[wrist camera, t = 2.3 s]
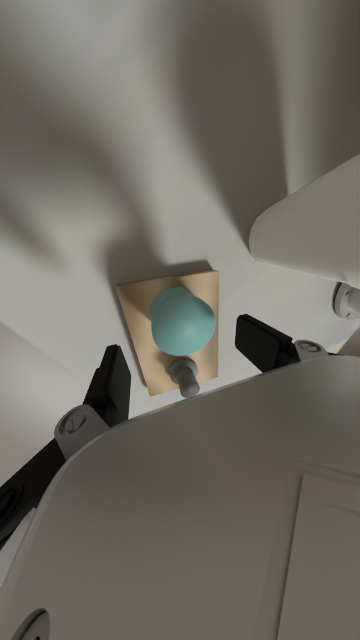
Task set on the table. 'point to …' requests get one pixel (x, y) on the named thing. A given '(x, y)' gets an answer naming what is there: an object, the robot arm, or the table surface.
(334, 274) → the foam cup
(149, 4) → the table surface
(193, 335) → the cap
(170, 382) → the board
